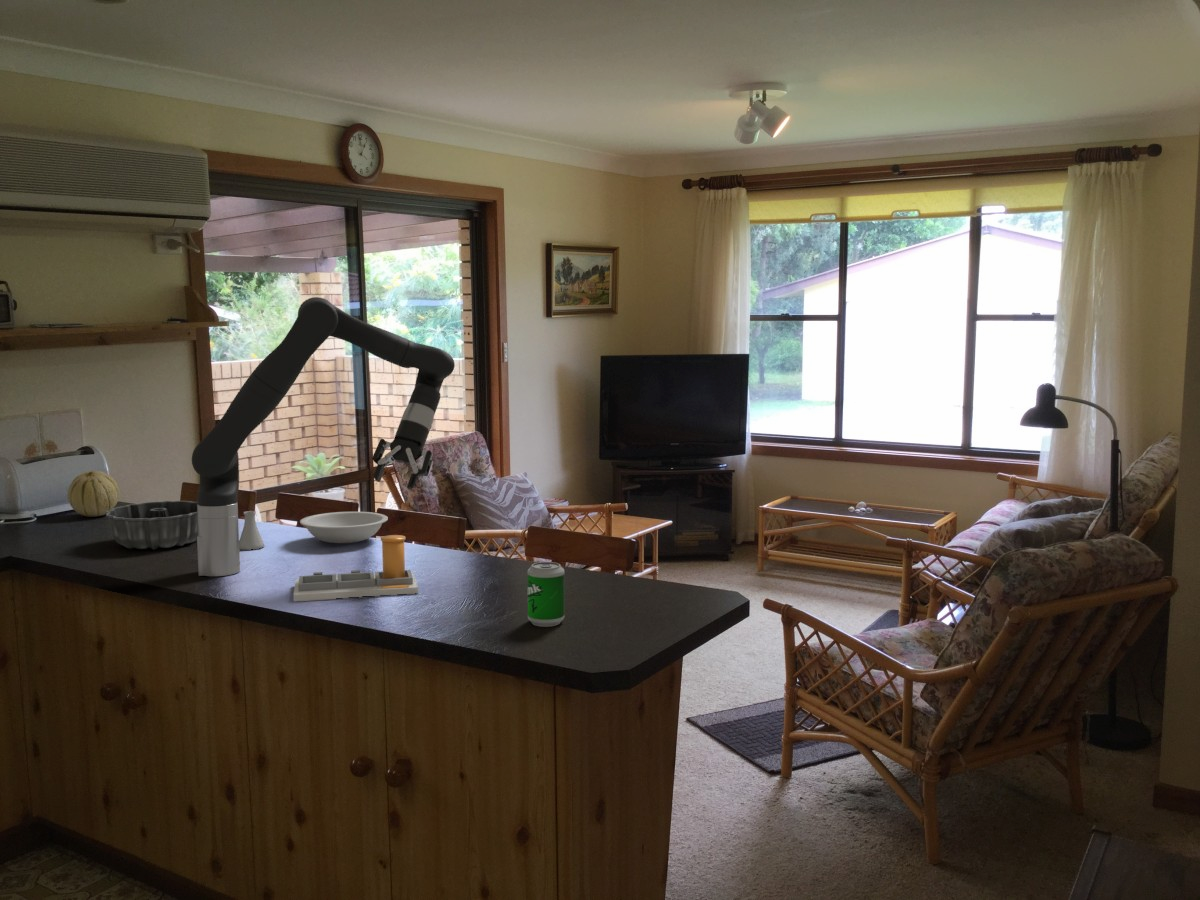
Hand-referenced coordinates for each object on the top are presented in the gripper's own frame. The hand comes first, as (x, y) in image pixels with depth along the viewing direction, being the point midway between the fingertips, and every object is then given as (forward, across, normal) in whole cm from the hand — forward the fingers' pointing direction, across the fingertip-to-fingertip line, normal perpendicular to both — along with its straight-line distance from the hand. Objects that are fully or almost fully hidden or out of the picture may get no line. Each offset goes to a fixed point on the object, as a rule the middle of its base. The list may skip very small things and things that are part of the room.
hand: (393, 485), depth 241 cm
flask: (+20, -45, +30) cm, 58 cm away
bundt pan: (+26, -72, +32) cm, 83 cm away
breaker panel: (+27, +2, -5) cm, 28 cm away
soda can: (+26, +51, -23) cm, 61 cm away
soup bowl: (+10, -24, +40) cm, 48 cm away
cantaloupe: (+20, -117, +64) cm, 135 cm away
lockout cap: (+22, +10, -3) cm, 25 cm away
